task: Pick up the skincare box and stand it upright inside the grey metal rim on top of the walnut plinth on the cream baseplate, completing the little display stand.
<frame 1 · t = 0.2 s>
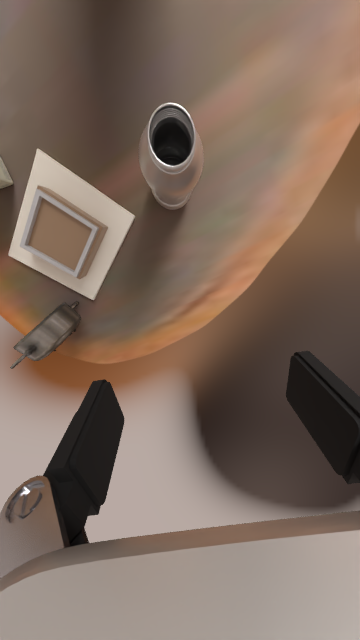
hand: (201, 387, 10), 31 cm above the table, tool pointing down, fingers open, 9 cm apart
plastic bottle: (171, 188, 32), on the table
alarm clock: (69, 317, 42), on the table
display base: (72, 235, 35), on the table
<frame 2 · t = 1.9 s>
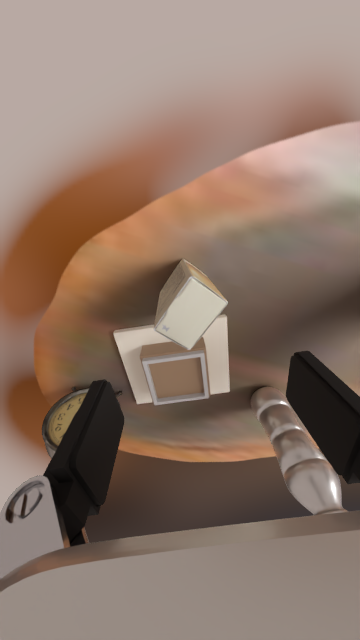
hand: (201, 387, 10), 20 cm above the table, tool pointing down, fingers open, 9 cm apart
plastic bottle: (263, 393, 39), on the table
alarm clock: (99, 392, 37), on the table
skincare box: (182, 282, 28), on the table
display base: (176, 361, 34), on the table
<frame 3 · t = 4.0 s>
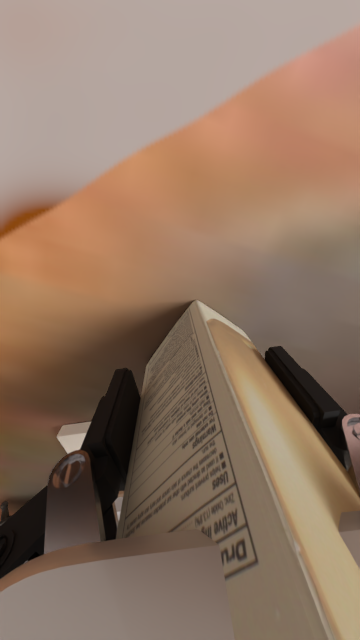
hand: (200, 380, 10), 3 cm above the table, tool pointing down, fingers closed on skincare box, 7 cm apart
skincare box: (194, 344, 14), on the table, touching gripper
display base: (180, 464, 20), on the table
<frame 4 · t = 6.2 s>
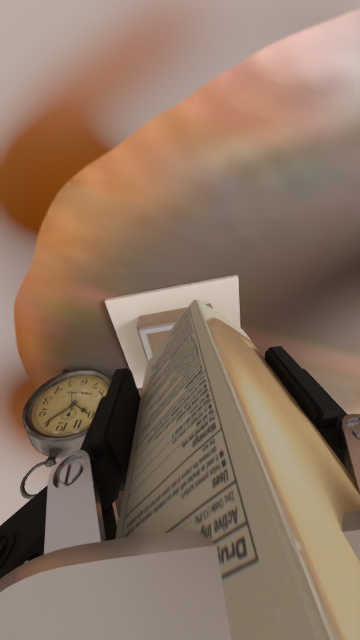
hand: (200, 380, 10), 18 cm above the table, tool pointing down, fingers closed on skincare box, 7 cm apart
alarm clock: (93, 376, 33), on the table
skincare box: (194, 344, 14), point 14 cm above the table, touching gripper
display base: (180, 336, 30), on the table
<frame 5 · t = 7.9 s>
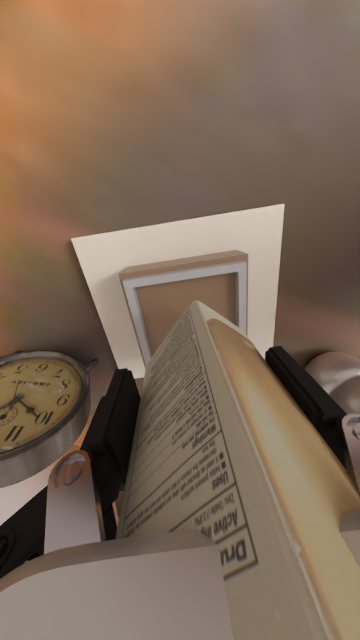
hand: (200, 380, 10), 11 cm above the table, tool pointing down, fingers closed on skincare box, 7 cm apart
plastic bottle: (320, 364, 25), on the table
alarm clock: (61, 362, 23), on the table
skincare box: (194, 344, 14), point 8 cm above the table, touching gripper
display base: (187, 305, 20), on the table
when the fingers open (9 cm above the table, at t = 8.8 s): skincare box drops 2 cm, resting on display base.
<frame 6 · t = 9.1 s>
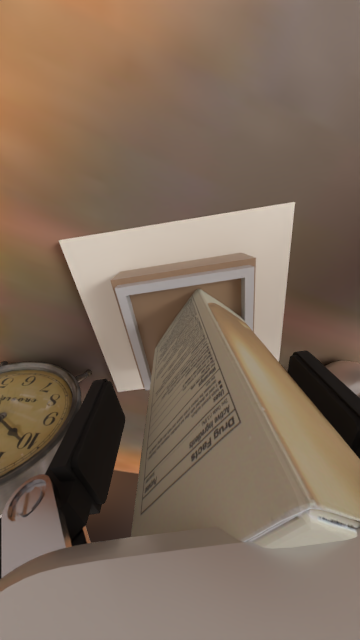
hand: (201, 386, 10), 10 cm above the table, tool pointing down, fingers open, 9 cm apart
plastic bottle: (328, 374, 23), on the table
alarm clock: (52, 372, 22), on the table
skincare box: (197, 329, 15), point 4 cm above the table, touching display base
display base: (187, 312, 19), on the table
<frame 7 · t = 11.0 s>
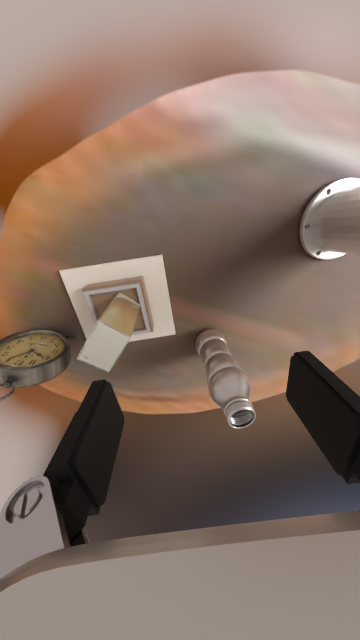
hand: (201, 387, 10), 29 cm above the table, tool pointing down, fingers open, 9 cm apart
plastic bottle: (208, 338, 43), on the table
alarm clock: (53, 337, 40), on the table
skincare box: (122, 310, 34), point 4 cm above the table, touching display base
display base: (123, 303, 38), on the table
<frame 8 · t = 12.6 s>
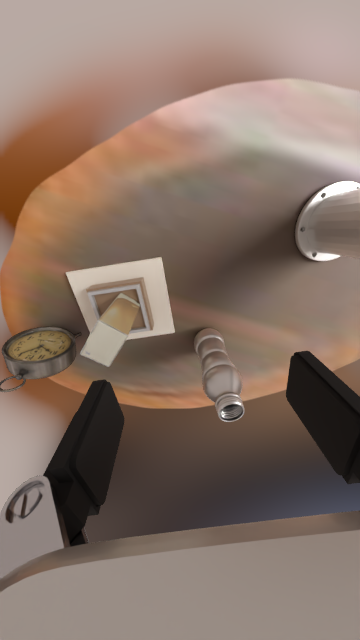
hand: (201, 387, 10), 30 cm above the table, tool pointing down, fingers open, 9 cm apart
plastic bottle: (206, 336, 44), on the table
alarm clock: (61, 334, 43), on the table
skincare box: (124, 309, 36), point 4 cm above the table, touching display base
display base: (125, 303, 40), on the table
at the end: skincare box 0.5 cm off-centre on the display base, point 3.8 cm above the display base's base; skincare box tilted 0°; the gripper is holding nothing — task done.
